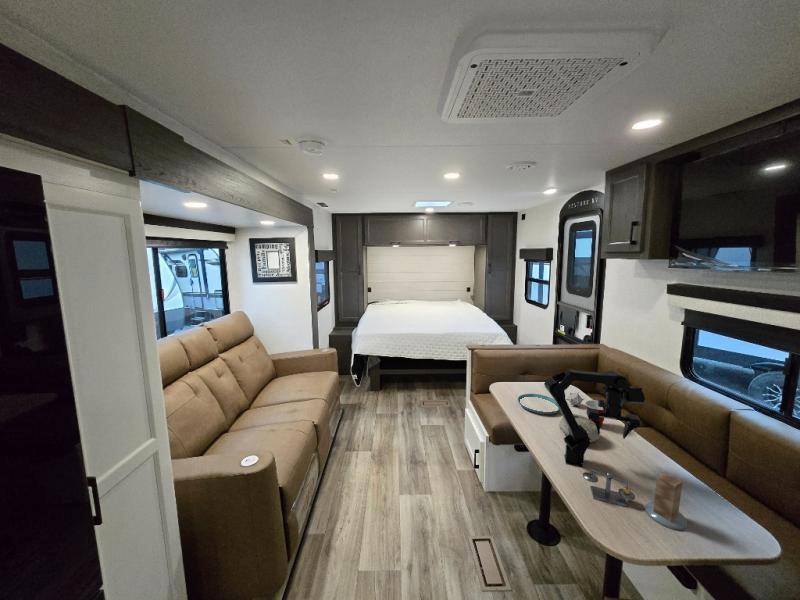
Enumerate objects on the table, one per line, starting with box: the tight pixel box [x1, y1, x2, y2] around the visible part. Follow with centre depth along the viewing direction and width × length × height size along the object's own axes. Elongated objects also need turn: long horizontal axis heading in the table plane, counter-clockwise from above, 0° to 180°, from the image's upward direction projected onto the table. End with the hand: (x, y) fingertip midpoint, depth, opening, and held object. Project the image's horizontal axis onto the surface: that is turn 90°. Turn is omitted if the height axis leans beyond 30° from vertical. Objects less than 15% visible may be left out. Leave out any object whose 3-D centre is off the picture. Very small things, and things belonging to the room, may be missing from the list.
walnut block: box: [653, 472, 683, 522], centre depth 107 cm, size 5×5×13 cm
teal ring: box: [517, 393, 560, 415], centre depth 190 cm, size 24×24×3 cm
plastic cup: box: [584, 399, 605, 427], centre depth 168 cm, size 11×11×12 cm
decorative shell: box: [558, 413, 601, 443], centre depth 156 cm, size 18×18×10 cm
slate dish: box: [644, 501, 688, 531], centre depth 108 cm, size 11×11×1 cm
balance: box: [582, 467, 636, 507], centre depth 116 cm, size 17×6×10 cm, turn 68°
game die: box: [565, 392, 585, 406], centre depth 191 cm, size 9×8×10 cm
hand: (610, 435), depth 135 cm, fingers open, 9 cm apart
